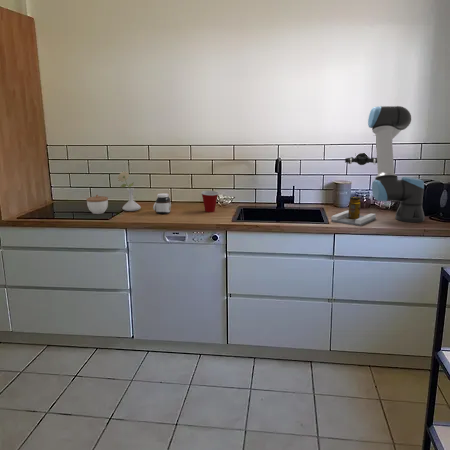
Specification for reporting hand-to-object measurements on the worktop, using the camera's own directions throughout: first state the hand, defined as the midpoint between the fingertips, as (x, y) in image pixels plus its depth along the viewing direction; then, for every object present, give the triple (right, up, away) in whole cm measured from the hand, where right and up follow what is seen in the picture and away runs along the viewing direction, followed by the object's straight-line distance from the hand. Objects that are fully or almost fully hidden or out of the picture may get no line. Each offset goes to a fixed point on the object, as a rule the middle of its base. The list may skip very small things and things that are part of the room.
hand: (362, 162), depth 269 cm
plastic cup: (-90, -29, +12) cm, 96 cm away
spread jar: (-120, -30, +9) cm, 124 cm away
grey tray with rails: (-10, -35, -15) cm, 39 cm away
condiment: (-10, -34, -15) cm, 38 cm away
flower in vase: (-141, -28, +16) cm, 144 cm away
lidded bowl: (-159, -30, +11) cm, 162 cm away
